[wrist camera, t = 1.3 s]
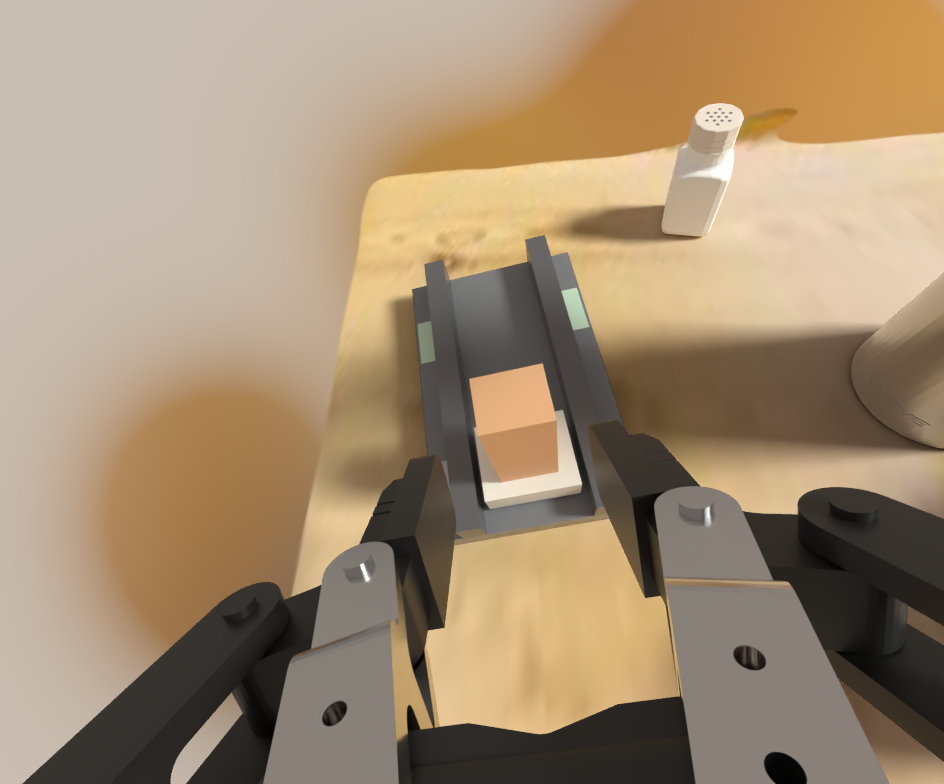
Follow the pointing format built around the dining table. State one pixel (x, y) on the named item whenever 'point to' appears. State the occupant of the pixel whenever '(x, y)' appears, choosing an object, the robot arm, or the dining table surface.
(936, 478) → the dining table surface
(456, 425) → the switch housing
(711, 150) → the salt shaker
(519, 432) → the switch lever
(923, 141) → the dining table surface
